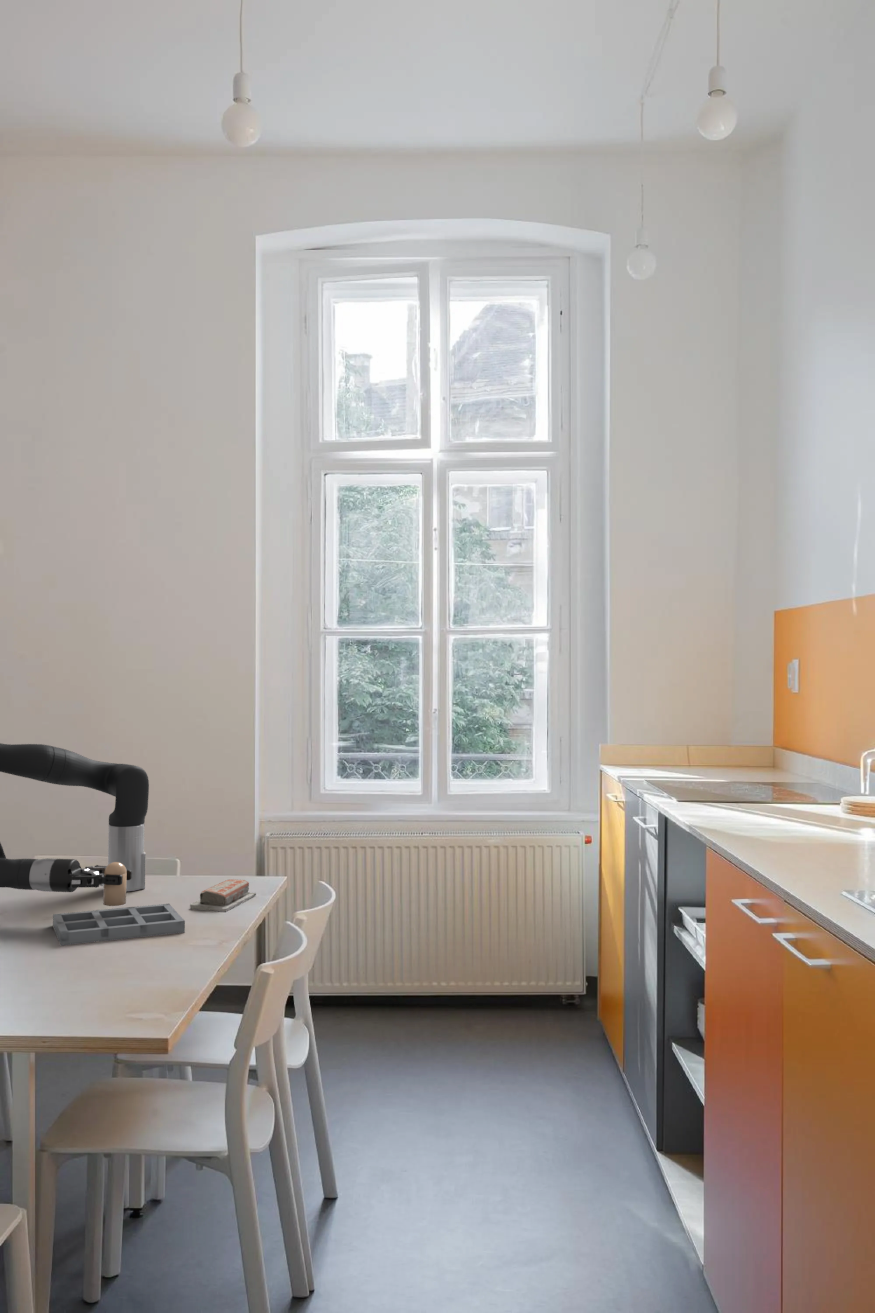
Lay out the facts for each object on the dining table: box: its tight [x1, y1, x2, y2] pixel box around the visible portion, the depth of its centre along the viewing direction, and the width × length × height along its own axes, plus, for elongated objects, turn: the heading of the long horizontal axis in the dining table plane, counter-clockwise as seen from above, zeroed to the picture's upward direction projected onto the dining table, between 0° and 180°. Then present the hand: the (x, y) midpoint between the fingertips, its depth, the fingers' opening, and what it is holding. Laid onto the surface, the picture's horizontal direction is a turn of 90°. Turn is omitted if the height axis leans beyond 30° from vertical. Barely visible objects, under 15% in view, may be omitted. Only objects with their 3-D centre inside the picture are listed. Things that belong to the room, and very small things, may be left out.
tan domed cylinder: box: [102, 862, 127, 907], centre depth 226 cm, size 5×5×10 cm
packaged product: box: [189, 878, 257, 912], centre depth 250 cm, size 18×5×10 cm
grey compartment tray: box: [52, 903, 186, 946], centre depth 223 cm, size 26×18×3 cm
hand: (126, 877), depth 226 cm, fingers closed on tan domed cylinder, 5 cm apart
